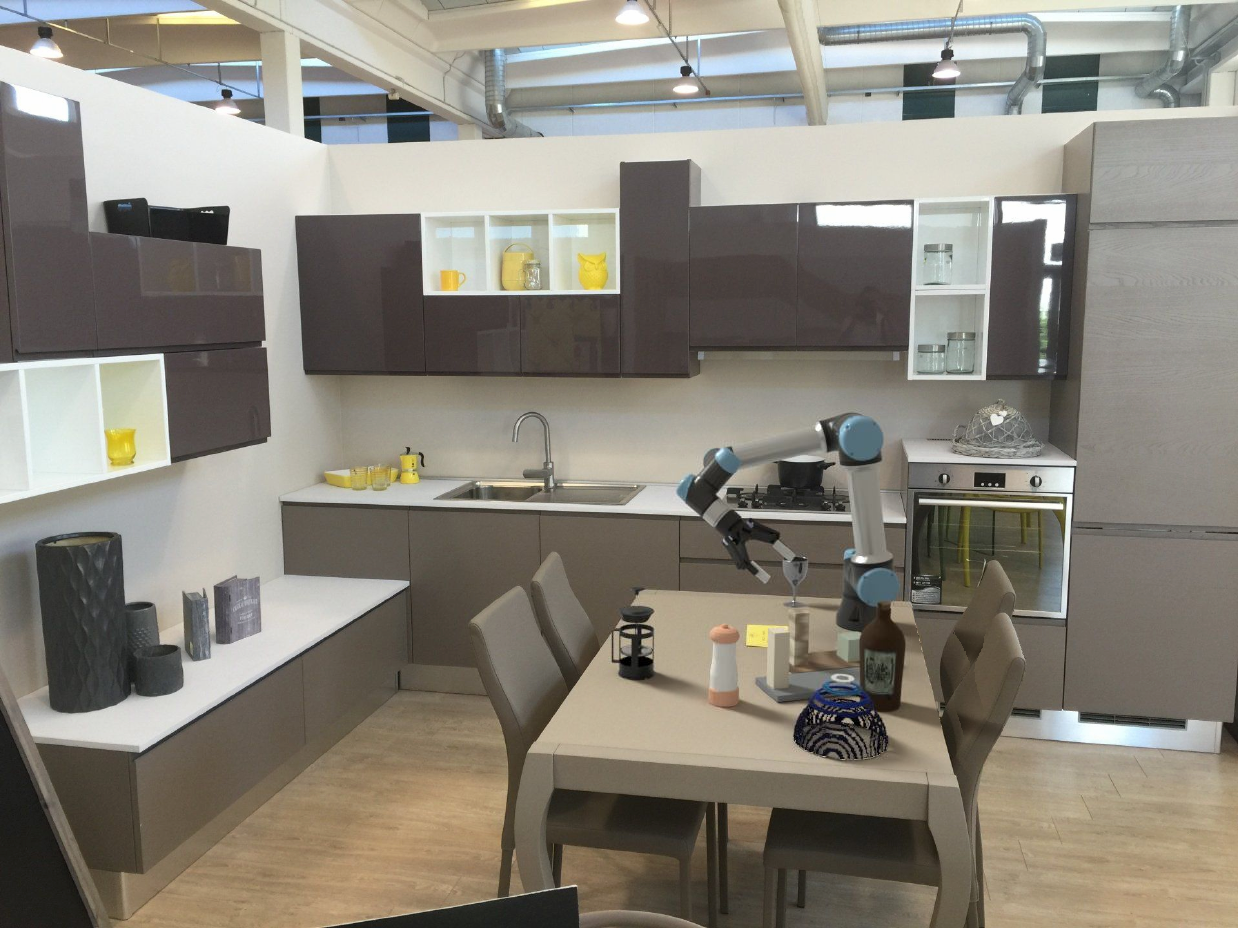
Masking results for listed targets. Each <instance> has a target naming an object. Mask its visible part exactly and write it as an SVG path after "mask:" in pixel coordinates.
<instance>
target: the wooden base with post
mask: <svg viewBox="0 0 1238 928" xmlns="http://www.w3.org/2000/svg"><path fill="white" fill-rule="evenodd" d="M787 616H788V618H787V619H788V620H787V630H788V631H789V632H790V652H789V673H790V674H795V673H805V672H814V671H824V670H834V669H843V668H853V667H860V661H855V662H847V661H845V660H844V659H842V658H841V657H839V656H838V655H837V649H836V650H835V649H834V650H826V651H816V652H809V643H810V642H809V640H810V612H809V611H808V610H806V609H804V608H803V607H801V608H793V609H788V615H787Z"/></svg>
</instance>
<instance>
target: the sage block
mask: <svg viewBox="0 0 1238 928" xmlns="http://www.w3.org/2000/svg"><path fill="white" fill-rule="evenodd" d="M861 633H862V632H860V631H848V632H838V633H837V637H836V638H837V640H836V642H837V643H836V650H837V655H838V656H839V657H841V658H842V659H844V660H845V661H847V662H855V661H860V657H859V639H860V636H861Z"/></svg>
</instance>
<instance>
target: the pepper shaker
mask: <svg viewBox="0 0 1238 928" xmlns="http://www.w3.org/2000/svg"><path fill="white" fill-rule="evenodd" d="M709 637H710V639H711V641H712V642H713V643H712V661H711V666H710V670H709V676H710V677H709V685H708V695H707V696H708V698H707V701H708V702H709V704H711V705H712V706H715V707H720V708H729V707H734V706H737V705H738V704H739V701H740V687H739V686H738V685H739V684H738V682H739V680H738V679H739V674H738V673H739V672H738V666H737V665H738V664H737V642H738V641H739V640H740V638H741V637H740V632H739V631H738V629H737V628H736V627H734V626H732V625H729V624H728V623H722V624H721V625H718V626H715V627H712V629H711V630H710V633H709Z"/></svg>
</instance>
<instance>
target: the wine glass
mask: <svg viewBox="0 0 1238 928" xmlns="http://www.w3.org/2000/svg"><path fill="white" fill-rule="evenodd" d="M808 565H809V558H807V557H805V556H799V555H796V556H795V557H794V558H793V560H792V561H791V562H789V561H788V560H787V559H786V558H785V557H784V556H783V557H782V569H783V570H782V571H783V575H784V576H785V578H786V579H787V580H788V582H789V584H790V585H791V587H792V594H793V595H792V596H793V597H792V600H791V601H789V600H788V601H784V602H783V603H782V605H783V606H785V607H789V608H794V609H799V608H803V607H806V603H804V602H801V601H797V597H796V596H797V588H798V586H799V584H800V583H801V582H802V581H803V580H804V579H805V577H806V576H807V572H808V567H809V566H808Z"/></svg>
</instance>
